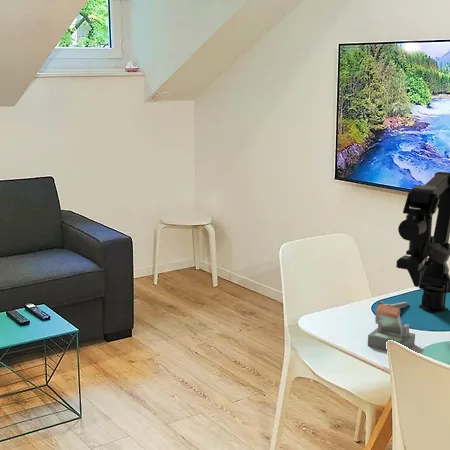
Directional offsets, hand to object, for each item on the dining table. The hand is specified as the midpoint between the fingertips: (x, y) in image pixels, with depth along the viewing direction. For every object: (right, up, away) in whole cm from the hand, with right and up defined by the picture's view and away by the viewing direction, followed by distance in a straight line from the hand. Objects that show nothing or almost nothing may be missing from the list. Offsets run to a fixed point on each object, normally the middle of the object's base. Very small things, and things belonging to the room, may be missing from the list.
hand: (416, 286), depth 203 cm
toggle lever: (-9, -11, -10) cm, 18 cm away
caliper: (-4, -10, +13) cm, 17 cm away
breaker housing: (-9, -15, -9) cm, 20 cm away
